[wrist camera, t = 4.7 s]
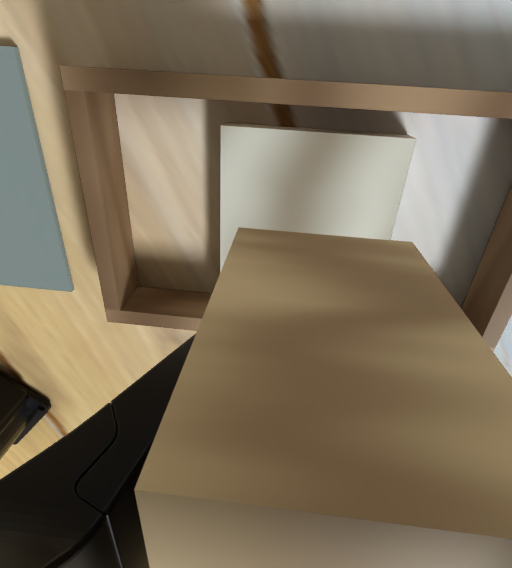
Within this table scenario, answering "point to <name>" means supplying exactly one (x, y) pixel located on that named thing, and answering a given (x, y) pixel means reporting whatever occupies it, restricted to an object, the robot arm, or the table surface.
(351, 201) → the port box
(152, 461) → the oak block
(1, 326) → the table surface
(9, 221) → the mat
